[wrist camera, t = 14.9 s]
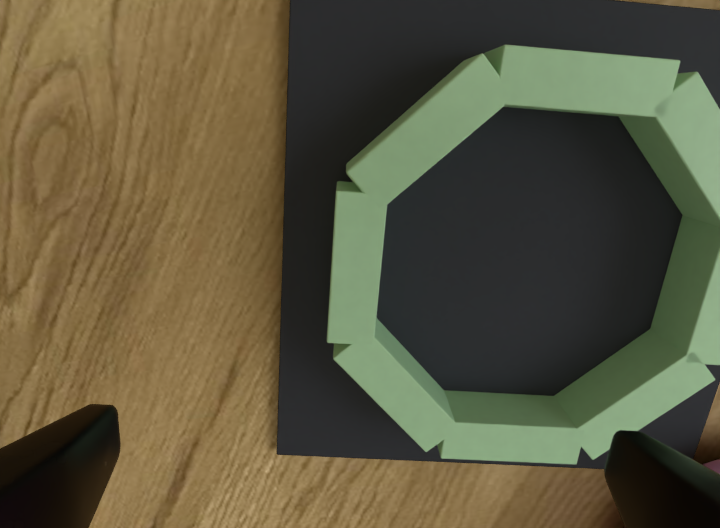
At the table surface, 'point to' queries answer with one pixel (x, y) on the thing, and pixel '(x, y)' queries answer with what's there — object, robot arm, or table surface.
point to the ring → (621, 370)
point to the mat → (476, 214)
